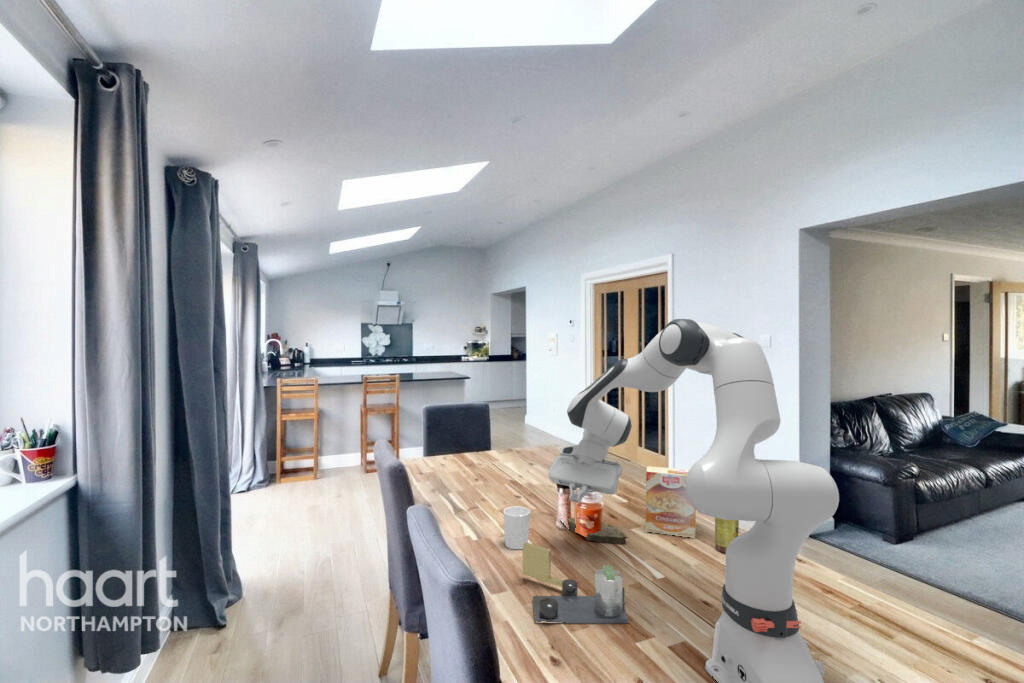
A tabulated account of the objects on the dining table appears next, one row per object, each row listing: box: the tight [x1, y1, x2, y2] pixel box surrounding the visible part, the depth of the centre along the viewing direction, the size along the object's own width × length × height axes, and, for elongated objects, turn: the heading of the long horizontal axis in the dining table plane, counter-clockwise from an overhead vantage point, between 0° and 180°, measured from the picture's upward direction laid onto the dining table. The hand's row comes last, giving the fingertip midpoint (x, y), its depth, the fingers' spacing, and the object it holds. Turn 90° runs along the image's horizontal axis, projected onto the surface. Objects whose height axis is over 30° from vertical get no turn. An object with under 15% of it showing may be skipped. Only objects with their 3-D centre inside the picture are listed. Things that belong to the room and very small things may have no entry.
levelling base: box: [532, 564, 629, 624], centre depth 106 cm, size 10×21×10 cm, turn 91°
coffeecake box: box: [644, 465, 697, 539], centre depth 151 cm, size 15×7×20 cm, turn 73°
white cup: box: [503, 505, 531, 550], centre depth 140 cm, size 8×8×10 cm
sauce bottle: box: [714, 517, 740, 554], centre depth 138 cm, size 6×6×20 cm
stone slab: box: [568, 518, 629, 545], centre depth 150 cm, size 27×12×5 cm, turn 36°
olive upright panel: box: [522, 542, 579, 596], centre depth 116 cm, size 15×4×9 cm, turn 56°
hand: (574, 500), depth 131 cm, fingers closed
